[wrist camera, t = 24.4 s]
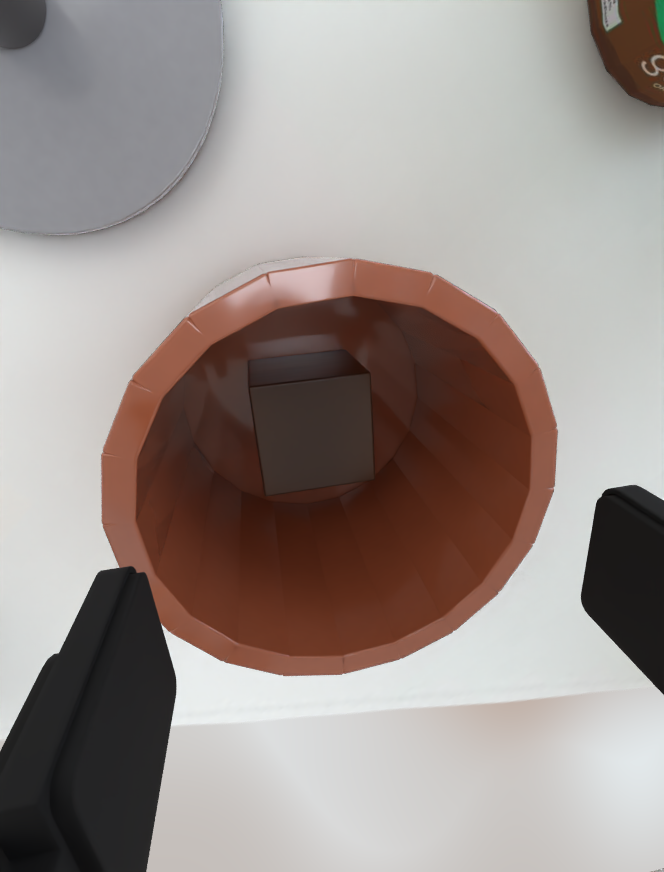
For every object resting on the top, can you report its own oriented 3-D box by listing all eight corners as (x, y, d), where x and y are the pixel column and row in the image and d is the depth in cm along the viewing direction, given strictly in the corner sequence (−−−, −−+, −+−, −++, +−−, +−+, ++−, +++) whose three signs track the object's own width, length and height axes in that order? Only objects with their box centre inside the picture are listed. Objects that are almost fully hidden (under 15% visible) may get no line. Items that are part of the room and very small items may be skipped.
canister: (475, 391, 23) (630, 482, 14) (306, 551, 24) (341, 729, 15) (301, 190, 18) (357, 124, 9) (108, 406, 20) (-10, 534, 11)
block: (346, 348, 20) (371, 372, 16) (352, 439, 22) (376, 480, 18) (247, 359, 20) (247, 387, 16) (261, 452, 21) (264, 497, 17)
